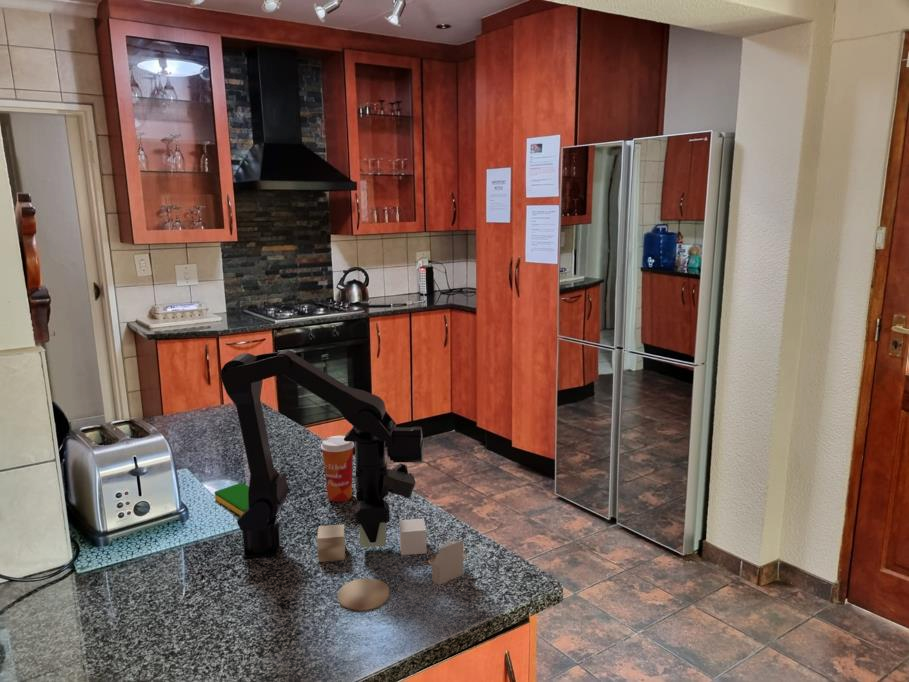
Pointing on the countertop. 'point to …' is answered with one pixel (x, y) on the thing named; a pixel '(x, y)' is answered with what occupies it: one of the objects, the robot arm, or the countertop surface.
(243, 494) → the dish sponge
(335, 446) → the paper cup
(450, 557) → the architectural model
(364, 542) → the sage block
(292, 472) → the countertop surface
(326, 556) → the maple block
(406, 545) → the offwhite block
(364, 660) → the countertop surface
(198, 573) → the countertop surface
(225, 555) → the countertop surface
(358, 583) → the coaster
